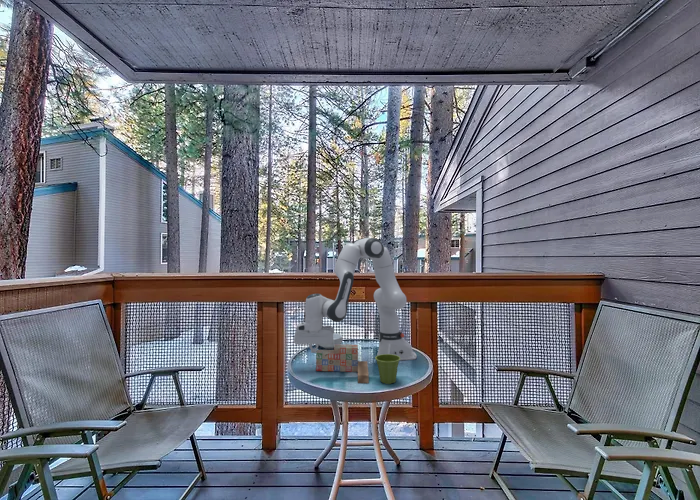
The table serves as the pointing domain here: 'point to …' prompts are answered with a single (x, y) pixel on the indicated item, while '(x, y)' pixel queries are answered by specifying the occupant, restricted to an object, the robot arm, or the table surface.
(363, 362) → the board
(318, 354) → the stack of blocks
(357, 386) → the table surface
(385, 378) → the plant pot
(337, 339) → the cereal bowl
